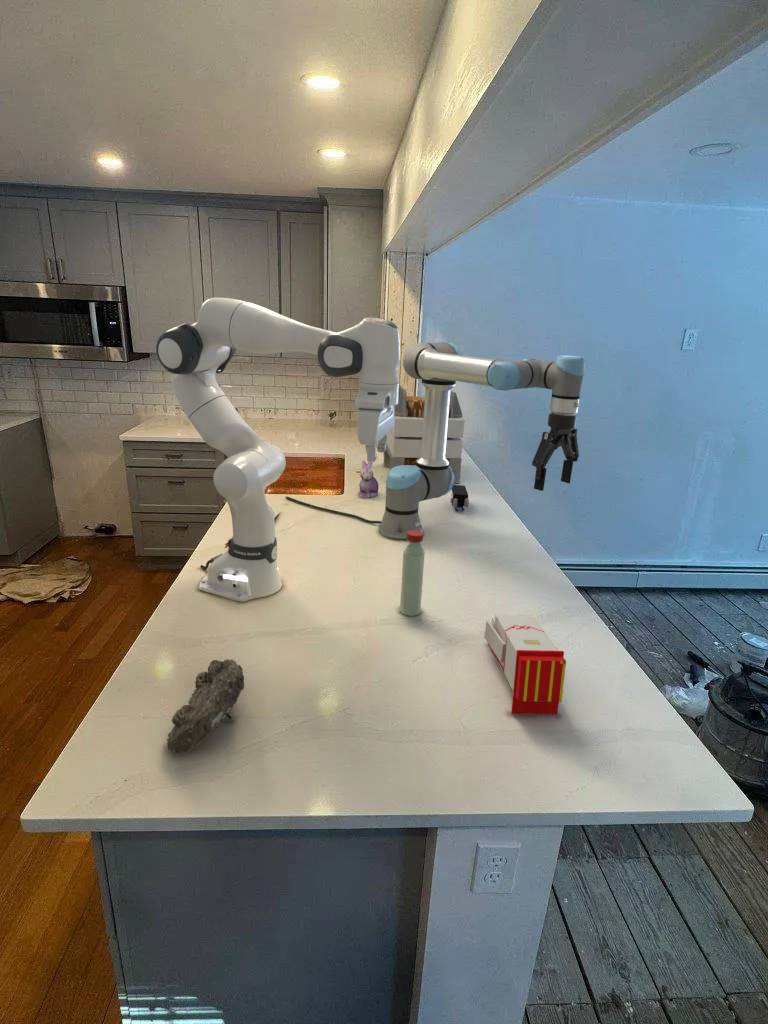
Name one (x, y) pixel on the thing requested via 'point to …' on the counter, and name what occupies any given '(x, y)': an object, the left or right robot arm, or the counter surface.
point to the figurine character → (459, 497)
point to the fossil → (206, 705)
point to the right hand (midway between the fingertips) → (552, 485)
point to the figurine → (368, 481)
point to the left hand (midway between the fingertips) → (376, 456)
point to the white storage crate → (409, 431)
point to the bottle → (412, 579)
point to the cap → (415, 536)
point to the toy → (527, 663)
